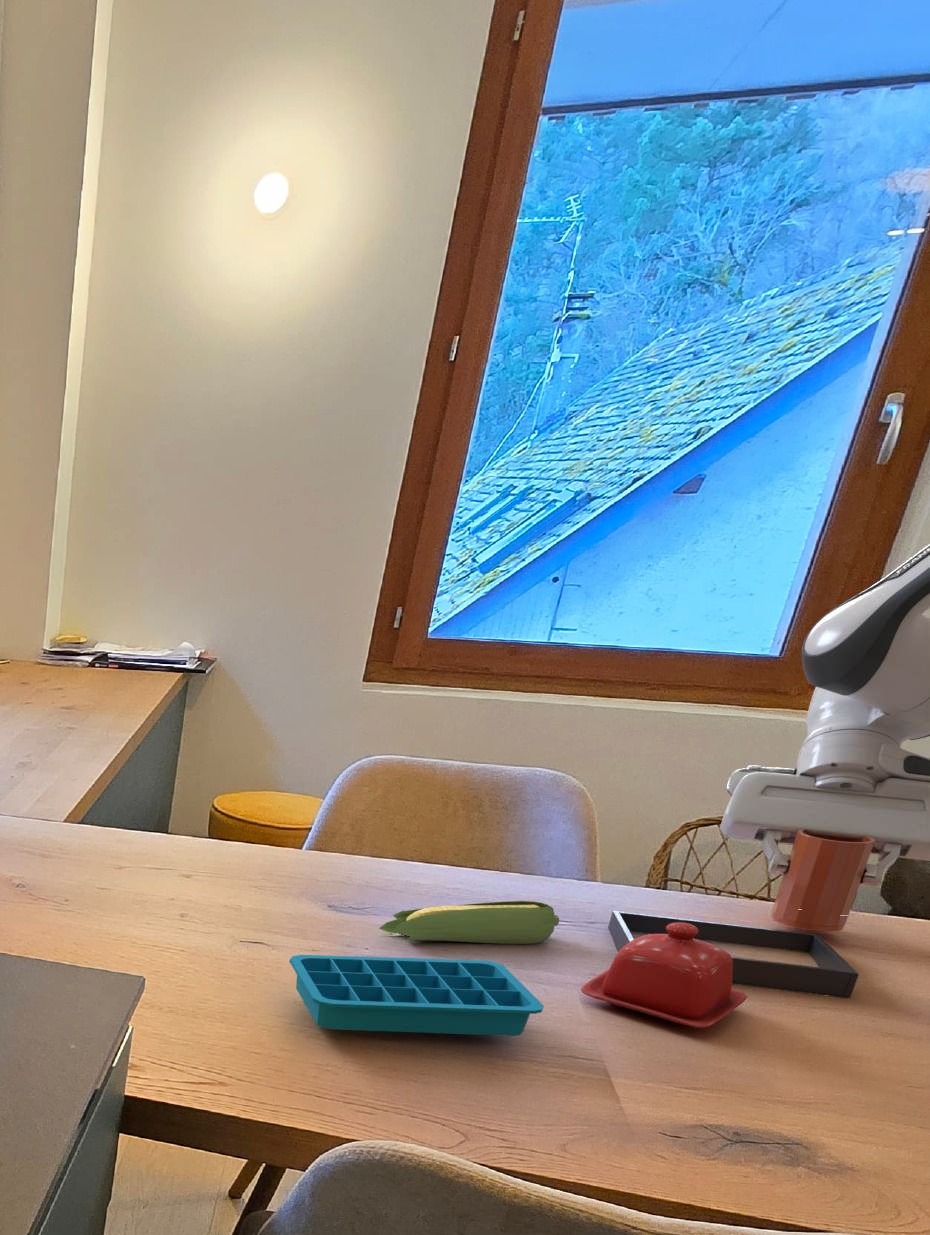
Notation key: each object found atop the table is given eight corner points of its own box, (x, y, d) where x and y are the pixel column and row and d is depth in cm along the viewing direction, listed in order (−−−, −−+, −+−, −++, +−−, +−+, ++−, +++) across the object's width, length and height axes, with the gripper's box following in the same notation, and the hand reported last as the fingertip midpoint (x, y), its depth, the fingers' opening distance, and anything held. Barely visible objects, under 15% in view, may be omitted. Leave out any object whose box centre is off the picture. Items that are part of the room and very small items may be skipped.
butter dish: (570, 1000, 117) (593, 921, 114) (620, 971, 123) (643, 894, 120) (702, 1041, 109) (731, 957, 105) (749, 1008, 115) (778, 926, 111)
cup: (834, 917, 134) (864, 831, 130) (852, 934, 129) (884, 845, 125) (763, 910, 137) (791, 825, 133) (779, 926, 131) (808, 839, 127)
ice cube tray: (541, 1040, 108) (549, 1011, 106) (311, 1032, 110) (316, 1003, 109) (491, 988, 118) (498, 960, 117) (282, 981, 120) (287, 954, 119)
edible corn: (562, 950, 131) (573, 912, 129) (380, 951, 132) (388, 913, 130) (538, 933, 136) (548, 895, 134) (362, 934, 136) (369, 897, 134)
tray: (809, 960, 129) (819, 934, 127) (849, 1001, 118) (859, 973, 116) (605, 935, 136) (612, 910, 135) (624, 972, 125) (632, 945, 124)
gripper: (738, 748, 137) (714, 848, 133) (973, 767, 126) (954, 876, 122) (726, 780, 142) (703, 877, 138) (951, 801, 131) (932, 906, 128)
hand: (823, 877), depth 130 cm, fingers closed on cup, 7 cm apart
